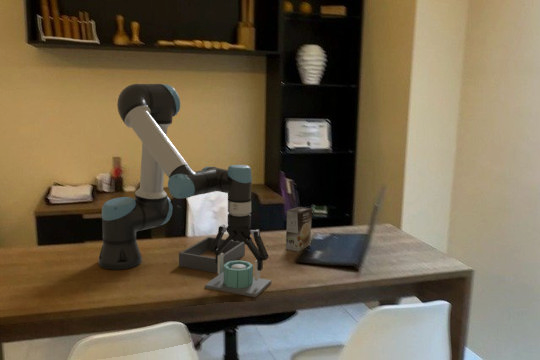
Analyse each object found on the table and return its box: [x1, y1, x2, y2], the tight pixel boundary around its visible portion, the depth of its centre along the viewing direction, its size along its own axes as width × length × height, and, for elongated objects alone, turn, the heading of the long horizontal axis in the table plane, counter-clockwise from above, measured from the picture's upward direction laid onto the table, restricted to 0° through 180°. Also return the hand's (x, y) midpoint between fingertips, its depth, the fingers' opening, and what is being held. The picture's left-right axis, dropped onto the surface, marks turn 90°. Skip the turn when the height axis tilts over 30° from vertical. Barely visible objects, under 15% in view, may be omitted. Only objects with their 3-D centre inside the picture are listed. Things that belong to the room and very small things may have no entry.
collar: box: [223, 259, 254, 288], centre depth 175 cm, size 9×9×6 cm
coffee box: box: [285, 206, 313, 252], centre depth 214 cm, size 9×6×16 cm
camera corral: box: [178, 236, 246, 274], centre depth 198 cm, size 16×22×5 cm
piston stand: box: [204, 264, 272, 298], centre depth 175 cm, size 18×13×6 cm
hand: (238, 276), depth 175 cm, fingers open, 13 cm apart
